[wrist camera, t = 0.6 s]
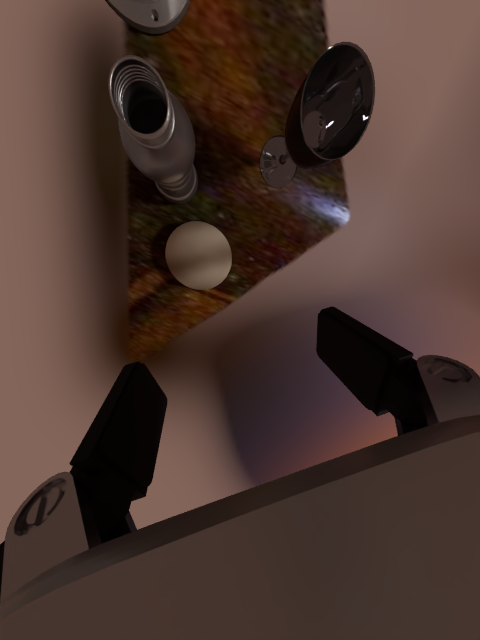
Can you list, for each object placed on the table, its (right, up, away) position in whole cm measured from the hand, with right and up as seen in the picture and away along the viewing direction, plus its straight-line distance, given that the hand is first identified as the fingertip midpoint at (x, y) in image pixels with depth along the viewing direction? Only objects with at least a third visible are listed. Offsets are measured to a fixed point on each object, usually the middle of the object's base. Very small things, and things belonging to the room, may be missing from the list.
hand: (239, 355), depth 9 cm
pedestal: (-8, +15, +25) cm, 30 cm away
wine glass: (+7, +30, +21) cm, 37 cm away
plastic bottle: (-10, +25, +20) cm, 34 cm away
